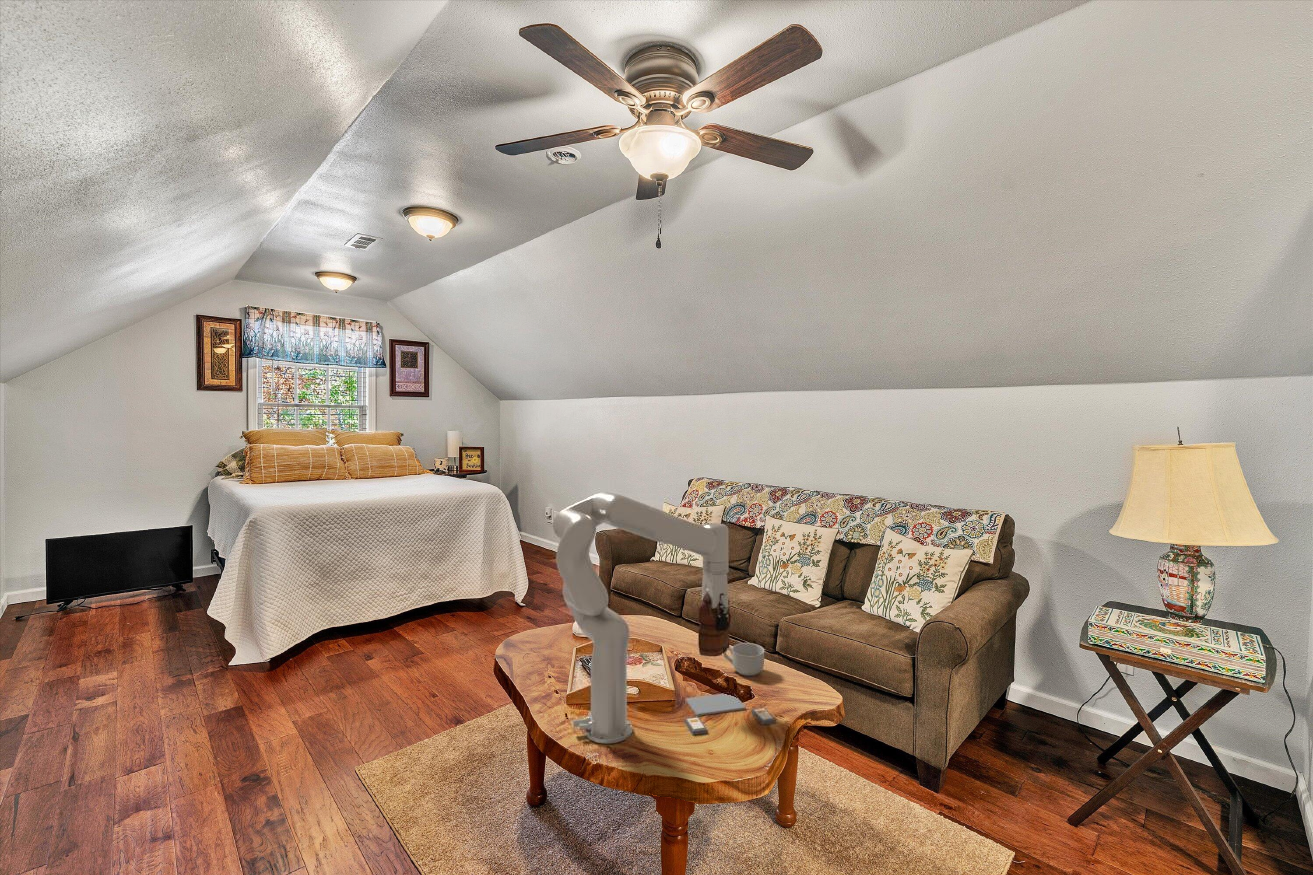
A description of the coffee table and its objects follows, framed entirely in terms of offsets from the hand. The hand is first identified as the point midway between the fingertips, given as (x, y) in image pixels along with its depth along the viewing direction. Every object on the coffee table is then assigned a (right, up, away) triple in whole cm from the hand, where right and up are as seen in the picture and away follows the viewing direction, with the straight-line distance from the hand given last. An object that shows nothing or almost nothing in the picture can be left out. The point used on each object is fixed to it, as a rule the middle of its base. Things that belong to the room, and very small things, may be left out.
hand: (715, 625), depth 169 cm
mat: (0, -23, 0) cm, 23 cm away
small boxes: (+3, -23, -11) cm, 26 cm away
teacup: (+12, -23, +24) cm, 36 cm away
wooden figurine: (0, -8, 0) cm, 8 cm away
